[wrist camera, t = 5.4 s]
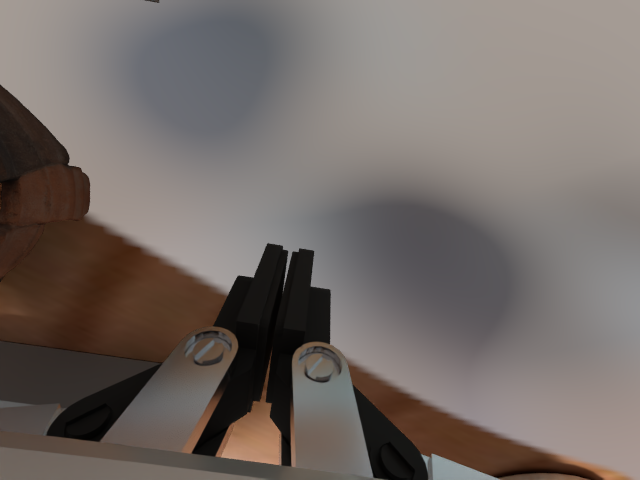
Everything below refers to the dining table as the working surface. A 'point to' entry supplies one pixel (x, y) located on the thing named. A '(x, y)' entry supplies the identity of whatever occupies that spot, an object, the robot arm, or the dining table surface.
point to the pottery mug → (33, 182)
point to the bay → (58, 373)
